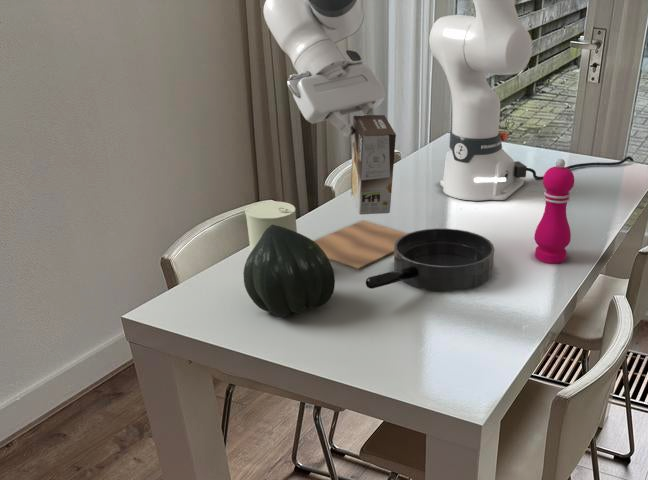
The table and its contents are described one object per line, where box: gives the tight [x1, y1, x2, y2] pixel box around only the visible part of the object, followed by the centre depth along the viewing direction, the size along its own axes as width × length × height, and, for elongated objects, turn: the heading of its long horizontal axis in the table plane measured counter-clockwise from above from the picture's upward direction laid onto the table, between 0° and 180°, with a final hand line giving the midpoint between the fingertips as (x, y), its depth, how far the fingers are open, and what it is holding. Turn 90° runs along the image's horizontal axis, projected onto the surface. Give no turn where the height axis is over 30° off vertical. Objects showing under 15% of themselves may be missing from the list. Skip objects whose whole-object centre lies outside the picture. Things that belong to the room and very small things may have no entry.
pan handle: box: [365, 266, 418, 290], centre depth 136 cm, size 14×2×4 cm, turn 145°
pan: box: [393, 228, 496, 292], centre depth 147 cm, size 19×19×5 cm
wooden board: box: [313, 220, 407, 271], centre depth 159 cm, size 20×16×1 cm
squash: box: [243, 224, 336, 317], centre depth 131 cm, size 14×15×15 cm
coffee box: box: [350, 114, 397, 215], centre depth 147 cm, size 9×6×16 cm
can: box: [244, 200, 298, 253], centre depth 144 cm, size 9×9×12 cm
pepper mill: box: [533, 158, 575, 265], centre depth 150 cm, size 7×7×20 cm
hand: (364, 131), depth 145 cm, fingers closed on coffee box, 6 cm apart
